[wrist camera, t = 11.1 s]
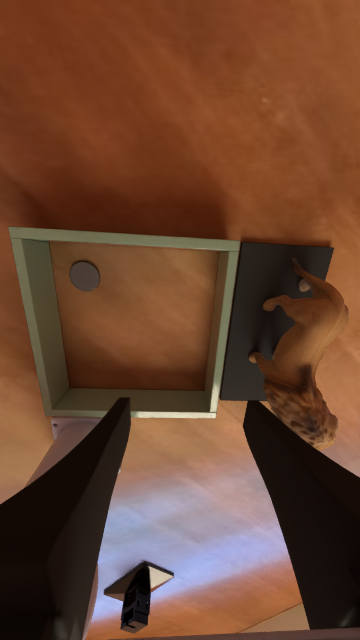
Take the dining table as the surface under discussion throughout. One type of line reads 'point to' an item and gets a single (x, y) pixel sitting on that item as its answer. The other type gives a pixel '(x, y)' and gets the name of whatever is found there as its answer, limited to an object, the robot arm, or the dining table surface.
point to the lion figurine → (303, 359)
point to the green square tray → (84, 276)
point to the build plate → (137, 594)
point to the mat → (256, 323)
